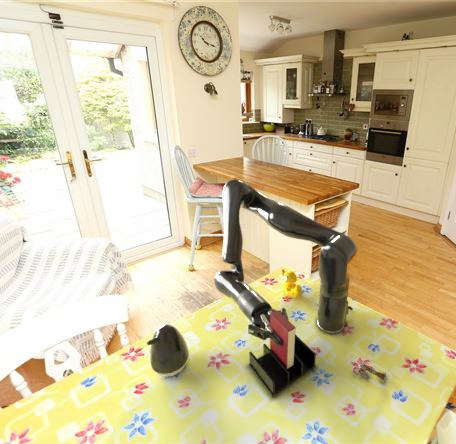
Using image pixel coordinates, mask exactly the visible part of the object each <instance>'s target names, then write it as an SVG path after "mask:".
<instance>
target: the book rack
mask: <svg viewBox="0 0 456 444" xmlns="http://www.w3.org/2000/svg"><path fill="white" fill-rule="evenodd" d="M262 346H263V347H262V349H263V352H262V353H263V355H262V356H260V357H258V358H257V357H256V356H255V355H254V353H253V352H252V351H249V353H248V355H249V356H248V357H249V364H248V368H250V370H251V371H252V372H253V374H254V375H255V377H256V378H257V379H258V381H259V382H260V383H261V384H262V386H263V387H264V389H265V390H266V391H267V393H268V395H270V397H271V398H274V397H275V396H277V395H278V394H280V393H281V392H282V391H284V390H285V389H287V388H288V387H290V386H291V385H292V384H294V383H295V382H297V381H299V379H301V378H302V377H305V376H306V375H307V374H308V373H310V372H311V371H312V370H314V369H316V367H317V365H316V359H317V358H316V357H317V354H316V353H315V351H313V350H312V349H311V348H310V347H309V346H308V345H307V344H306V343H305V341H303V340H302V339H301V338H300V337H299V336H298V335H297V334H296V333H295V348H294V365H293V366H291V367H290V368H288V369H287V368H286V367H285V366H284V365H283V364H282V363H281V361H280V360H279V359H278V358H277V357H276V356H275V355H274V353H273V352H272V351H271V350H270V347H268V345H267V344H266V343H263V344H262Z"/></svg>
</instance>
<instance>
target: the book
mask: <svg viewBox="0 0 456 444" xmlns="http://www.w3.org/2000/svg"><path fill="white" fill-rule="evenodd" d="M276 310H277V309H276ZM279 311H280V310H277V311H275V312H273V313H271V314H270V326H271V327H272V329H273V332H274V331H275V332H276V333H277V334H278V335H279V336H280V337H281V338H282V340H283V345H281V346H279V345H277V344H276V343H275V342H274V341H273V340H272V339H270V338H269V349H270V350H271V351H272V352H273V353H274V355H275V356H276V357H277V358H278V359H279V360H280V361H281V363H282V364H283V365H284V366H285V367H286V368H287V369H288V368H290V367H291V366H293V365H294V348H295V334H296V329H297V327H296V326H295V325H294V324H293V323H292V322H291V321H290V319H289V320H287V319H286V318H285V317H284V316H283V315H282V314H281V313H280V312H279Z"/></svg>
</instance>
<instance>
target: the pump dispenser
mask: <svg viewBox="0 0 456 444" xmlns="http://www.w3.org/2000/svg"><path fill="white" fill-rule="evenodd" d="M146 345H147V346H150V350H149V360H150V366H151V368H152V370H153V371H154V372H155V373H156V374H157V375H159V376H161V377H166V378H167V377H169V378H170V377H173V376H175V375H178V374H179V373H180V372H182V371H183V370H184V369H185V367H186V365H187V364H188V360H189V357H190V351H189V347H188V344H187V342H186V339H185V338H184V335H183V334H182V333H181V332H180V331H179V330H178V328H177V327H175V326H174V325H172V324H168V323H167V324H162V325H160V326H159V327H158V328H157V329H156V330H155V332H154V334H153V336H152V338H151V339H149V340H147V341H146Z"/></svg>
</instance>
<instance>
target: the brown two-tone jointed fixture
mask: <svg viewBox="0 0 456 444" xmlns="http://www.w3.org/2000/svg"><path fill="white" fill-rule="evenodd" d="M365 371H367V373H366V372H365ZM369 373H370V374H371V375H373V376H376V377H378V378H379V379H381V382H382V383H383V382H385V381H386V380H387V379H388V378H387V373H386V372H380V371H377V370H375V369H373V368H372V367H370V366H367V364H366V363H365V364H364V363H363V362H362V363H359V369H357V370H356V372H355V375H356V376H358V375H361V376H362V377H363V378H365V379H367V378H369V377H370V376H369Z"/></svg>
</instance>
